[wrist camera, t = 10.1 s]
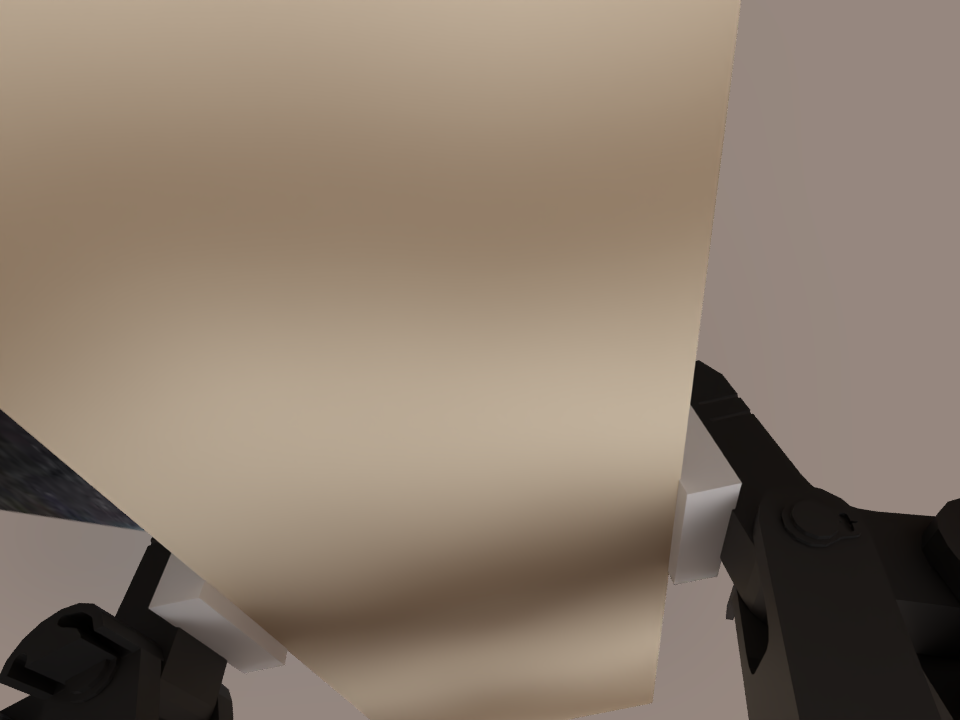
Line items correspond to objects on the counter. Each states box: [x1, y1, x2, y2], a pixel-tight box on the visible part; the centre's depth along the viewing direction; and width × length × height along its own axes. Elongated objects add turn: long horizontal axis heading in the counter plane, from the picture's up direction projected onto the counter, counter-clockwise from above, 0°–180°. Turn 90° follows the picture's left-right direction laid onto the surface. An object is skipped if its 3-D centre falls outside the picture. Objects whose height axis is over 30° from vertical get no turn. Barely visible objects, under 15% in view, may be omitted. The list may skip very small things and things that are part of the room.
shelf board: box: [0, 0, 741, 720], centre depth 9 cm, size 18×7×2 cm, turn 11°
